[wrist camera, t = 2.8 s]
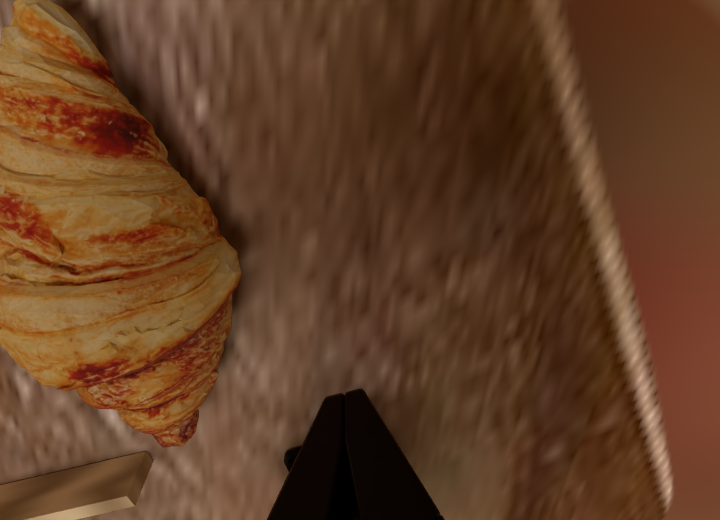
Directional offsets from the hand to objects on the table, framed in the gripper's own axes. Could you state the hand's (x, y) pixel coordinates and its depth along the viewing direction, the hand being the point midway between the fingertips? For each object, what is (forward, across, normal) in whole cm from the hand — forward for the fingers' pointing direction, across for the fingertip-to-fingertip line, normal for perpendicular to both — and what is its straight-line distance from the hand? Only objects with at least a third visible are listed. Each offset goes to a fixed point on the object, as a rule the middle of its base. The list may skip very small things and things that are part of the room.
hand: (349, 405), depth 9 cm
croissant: (+13, +10, 0) cm, 16 cm away
